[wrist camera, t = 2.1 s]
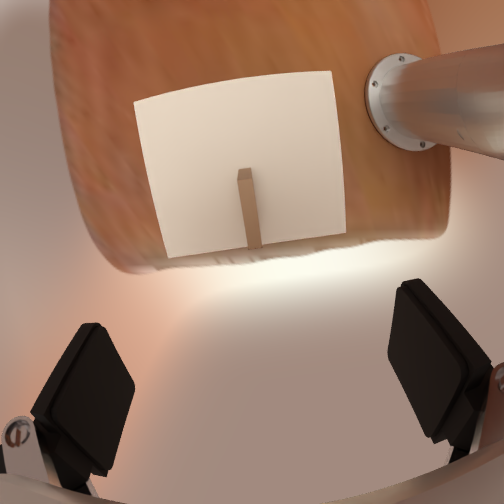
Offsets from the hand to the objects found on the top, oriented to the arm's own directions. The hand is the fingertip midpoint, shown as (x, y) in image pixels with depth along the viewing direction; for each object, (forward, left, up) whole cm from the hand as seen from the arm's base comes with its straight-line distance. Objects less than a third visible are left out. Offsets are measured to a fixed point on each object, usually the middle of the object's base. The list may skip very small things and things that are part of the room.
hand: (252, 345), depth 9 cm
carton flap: (+1, -3, -18) cm, 19 cm away
